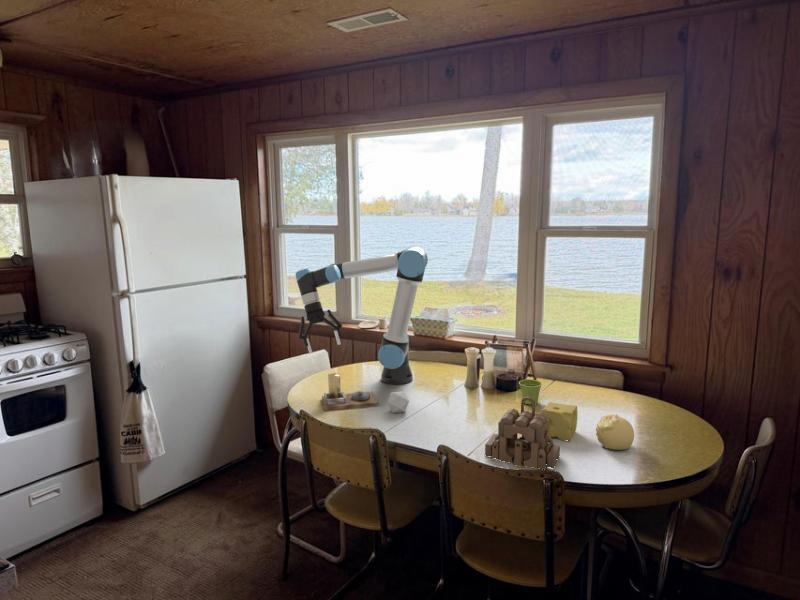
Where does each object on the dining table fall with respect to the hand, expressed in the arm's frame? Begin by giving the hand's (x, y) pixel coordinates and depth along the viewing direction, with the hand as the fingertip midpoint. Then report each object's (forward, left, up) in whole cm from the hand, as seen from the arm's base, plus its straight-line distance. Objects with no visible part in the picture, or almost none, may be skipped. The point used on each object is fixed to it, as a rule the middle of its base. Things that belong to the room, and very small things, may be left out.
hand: (325, 348), depth 238 cm
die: (-26, +32, -20) cm, 46 cm away
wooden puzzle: (-57, +81, -20) cm, 101 cm away
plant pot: (-81, +37, -20) cm, 91 cm away
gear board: (-8, +17, -20) cm, 27 cm away
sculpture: (-90, +82, -20) cm, 123 cm away
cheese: (-77, +68, -20) cm, 105 cm away
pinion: (-2, +17, -18) cm, 25 cm away
